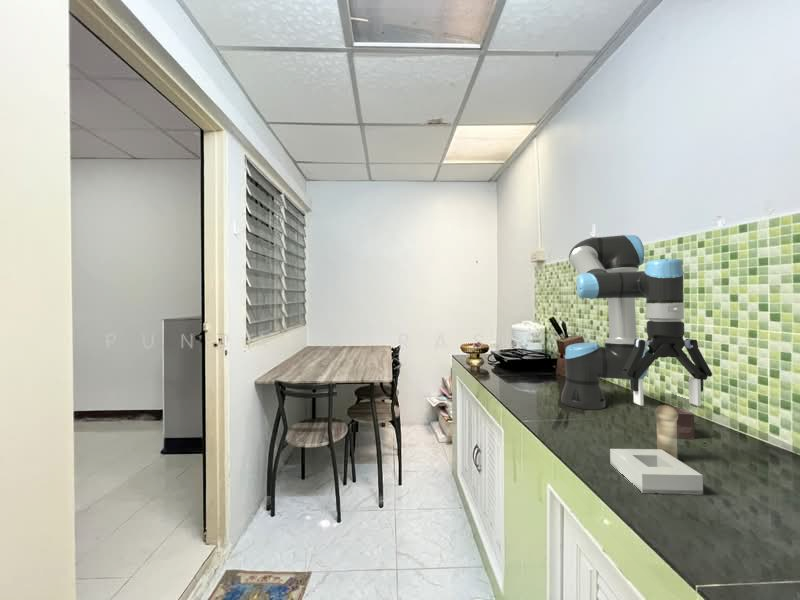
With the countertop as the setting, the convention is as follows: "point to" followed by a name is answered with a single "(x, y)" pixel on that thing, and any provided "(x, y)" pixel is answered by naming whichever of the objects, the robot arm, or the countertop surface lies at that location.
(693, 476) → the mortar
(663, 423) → the pestle
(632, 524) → the countertop surface
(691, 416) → the box
